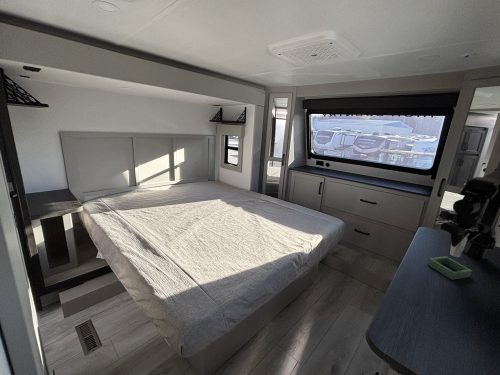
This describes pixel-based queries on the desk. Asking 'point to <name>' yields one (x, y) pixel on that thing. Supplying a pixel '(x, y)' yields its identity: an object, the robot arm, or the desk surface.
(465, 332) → the desk surface
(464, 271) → the green square frame
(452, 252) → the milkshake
